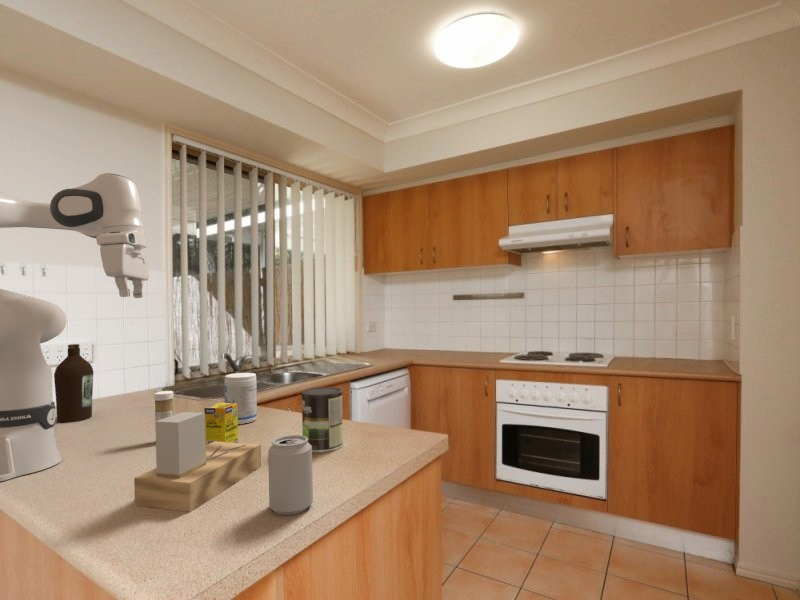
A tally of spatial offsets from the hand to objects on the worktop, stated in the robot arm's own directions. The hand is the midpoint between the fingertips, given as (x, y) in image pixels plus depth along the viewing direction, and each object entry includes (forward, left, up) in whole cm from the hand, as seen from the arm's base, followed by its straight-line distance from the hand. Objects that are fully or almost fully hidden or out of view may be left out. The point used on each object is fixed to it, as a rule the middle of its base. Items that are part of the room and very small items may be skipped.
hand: (132, 297), depth 108 cm
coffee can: (+45, -7, -39) cm, 60 cm away
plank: (+20, -24, -39) cm, 50 cm away
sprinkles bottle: (+4, +11, -39) cm, 41 cm away
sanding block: (+17, -29, -34) cm, 48 cm away
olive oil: (-33, +50, -39) cm, 72 cm away
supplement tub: (+22, +27, -39) cm, 52 cm away
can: (+37, -40, -39) cm, 67 cm away
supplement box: (+20, 0, -39) cm, 44 cm away
